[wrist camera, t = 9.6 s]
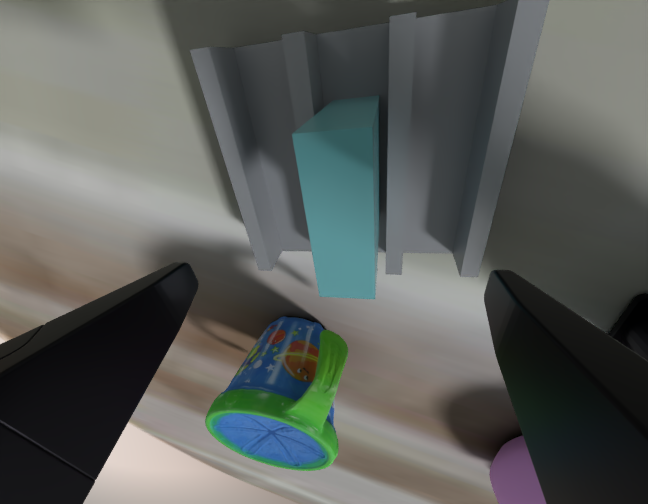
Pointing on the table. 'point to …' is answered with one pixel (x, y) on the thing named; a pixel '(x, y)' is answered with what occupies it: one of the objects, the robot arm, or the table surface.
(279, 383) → the snack cup
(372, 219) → the tall teal box
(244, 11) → the table surface
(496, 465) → the teapot
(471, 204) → the dish rack
